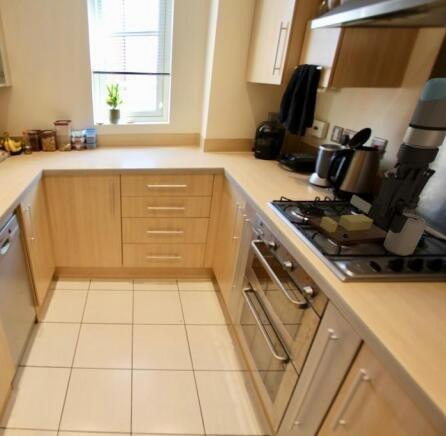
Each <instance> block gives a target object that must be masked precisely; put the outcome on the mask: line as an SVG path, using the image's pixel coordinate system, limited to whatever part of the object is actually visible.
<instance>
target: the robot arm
mask: <svg viewBox="0 0 446 436" xmlns="http://www.w3.org/2000/svg"><path fill="white" fill-rule="evenodd" d="M411 116H412V117H411V119H410V121H409V123H408V126H407V127H406V131H405V133H404V135H403V139H402V143H401V144H400V145H399V147H398V150H397V153H396V158H397V161H396V163H394V165H393V168H390V169H388V170H387V169H383V170H382V173H381V174H382V181H381V184H380V189H379V192H378V196H377V200H378V201H377V200H376V201H377V202H379V203H381V204H383V207H382V209H381V212H380V217H379V220H378V222H377V221H376V225H378V227H379V226H380V227H381V228H383V229H387V227H388V225H389V222H390V220H391V218H392V215H393V213H394V211H395V210H396V211H398V212H400V213H402V214H403V211H404V209H405V207H407V208H409V207H410V206H411V205H409V204H414V203H415V202H416V200H417V199H418V197H420V195H421V194H422V192H423V190H424V189H425V187H426V185H427V184H428V182H429V180H430V179H431V178H432V177H433V176H434V175H435V174H436V169H432V168H430V164H433V163H434V162H435V161H436V158H437V156H438V153H439V151H440V147H441V146H443V143H444V141H445V139H446V77H437V78H436V77H435V78H434V77H433V78H431V79H429V80H427V81H426V83H425V84H424V87H423V88H422V90H421V93H420V94H419V97H417V102H416V104H415V107H414V111H413V113H412V115H411ZM411 198H412V199H411Z"/></svg>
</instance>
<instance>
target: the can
mask: <svg viewBox="0 0 446 436" xmlns="http://www.w3.org/2000/svg"><path fill="white" fill-rule="evenodd" d="M403 215H405V216H407V217H408V219H407V221H406V223H405V225H404V227H403V229H402V231H401V233H393V232H392V231H390V230H389V229H388V232H387V233H388V234H387V237H386V239H385V241H383V244H382V245H383V247H384V248H385V251H388V252H389V253H391V254H393V255H397V256H403V257H404V256H409V255H410V256H411V255H413V254H414V252H415V250H416V248H417V246H418V244H419V242H420V240H421V238H422V236H423V234H424V232H425V230H426V228H427V225H426V220H425V219H424V218H423V217H421V216H419V215H417V214H416V215H417V216H416V215H413V214H406V213H405V214H403Z"/></svg>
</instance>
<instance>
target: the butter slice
mask: <svg viewBox="0 0 446 436" xmlns="http://www.w3.org/2000/svg"><path fill="white" fill-rule="evenodd" d="M329 217H330V216H322V217H321V218H322V221H321V224H320V226H321V227H323V228H324V229H326V230H327V231H328V232H335V230H336V228H337V225H338V223H337V222H335V221H334V220H332V219H331V218H329Z"/></svg>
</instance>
